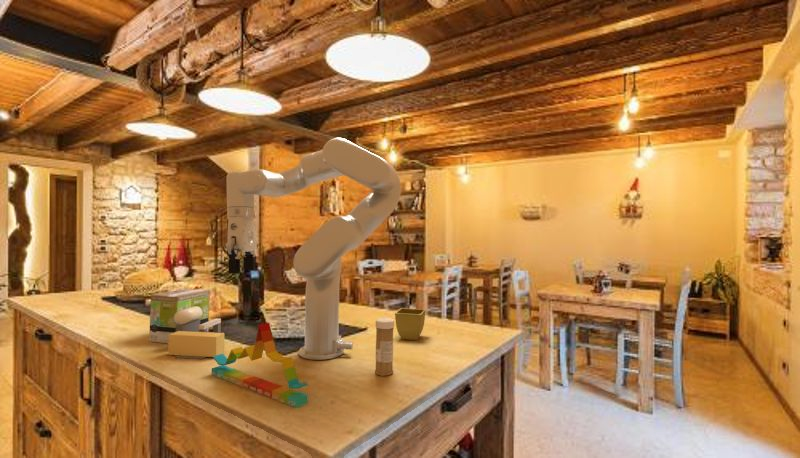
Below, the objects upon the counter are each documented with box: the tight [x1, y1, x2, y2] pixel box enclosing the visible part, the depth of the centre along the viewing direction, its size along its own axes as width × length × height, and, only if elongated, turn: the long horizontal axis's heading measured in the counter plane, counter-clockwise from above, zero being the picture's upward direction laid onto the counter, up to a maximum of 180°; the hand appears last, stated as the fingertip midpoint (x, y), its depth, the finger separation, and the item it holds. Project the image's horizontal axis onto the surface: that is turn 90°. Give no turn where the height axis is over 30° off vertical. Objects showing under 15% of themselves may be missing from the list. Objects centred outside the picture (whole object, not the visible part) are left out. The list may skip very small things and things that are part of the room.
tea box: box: [148, 288, 211, 344], centre depth 129 cm, size 15×10×15 cm
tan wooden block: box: [167, 331, 225, 358], centre depth 111 cm, size 14×4×6 cm, turn 84°
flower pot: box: [394, 307, 426, 341], centre depth 132 cm, size 9×9×9 cm
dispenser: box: [174, 306, 222, 333], centre depth 120 cm, size 9×10×11 cm
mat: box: [174, 355, 207, 360], centre depth 111 cm, size 8×6×1 cm
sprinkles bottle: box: [374, 317, 395, 377], centre depth 99 cm, size 5×5×14 cm
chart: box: [211, 322, 309, 409], centre depth 89 cm, size 30×3×15 cm, turn 56°
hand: (242, 271), depth 118 cm, fingers open, 9 cm apart
